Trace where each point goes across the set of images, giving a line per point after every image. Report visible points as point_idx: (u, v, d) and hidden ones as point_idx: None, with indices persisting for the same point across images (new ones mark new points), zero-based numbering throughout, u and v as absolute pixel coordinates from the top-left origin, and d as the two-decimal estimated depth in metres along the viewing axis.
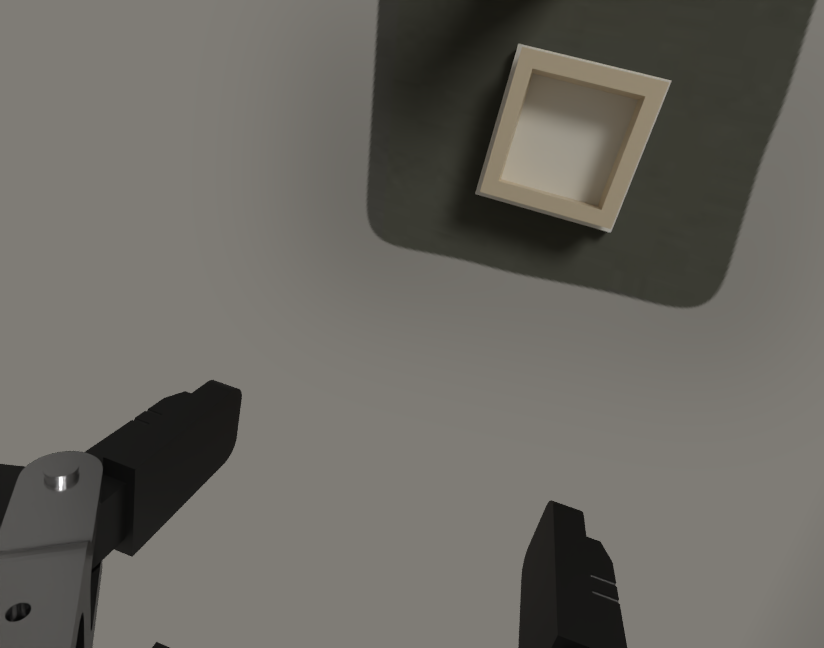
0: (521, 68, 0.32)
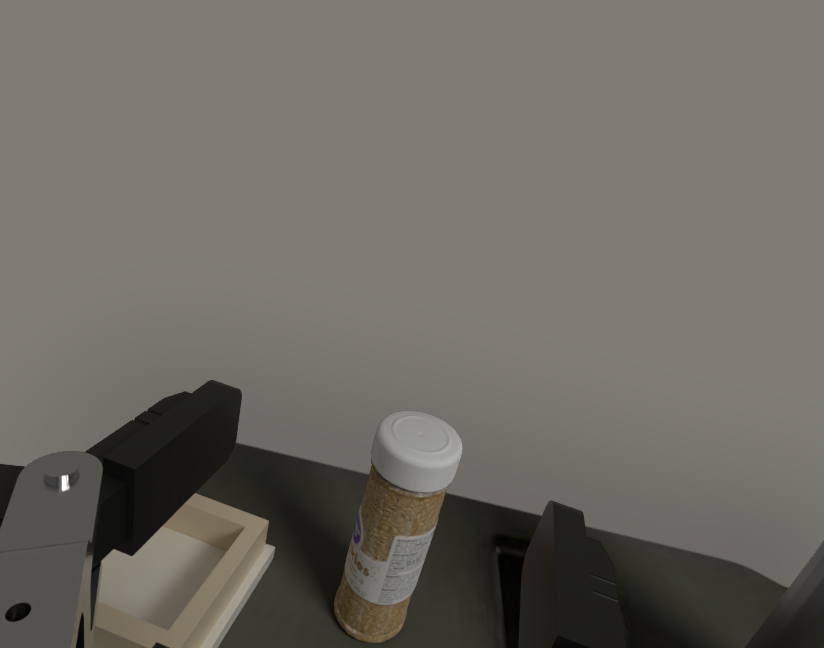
0: (248, 518, 0.31)
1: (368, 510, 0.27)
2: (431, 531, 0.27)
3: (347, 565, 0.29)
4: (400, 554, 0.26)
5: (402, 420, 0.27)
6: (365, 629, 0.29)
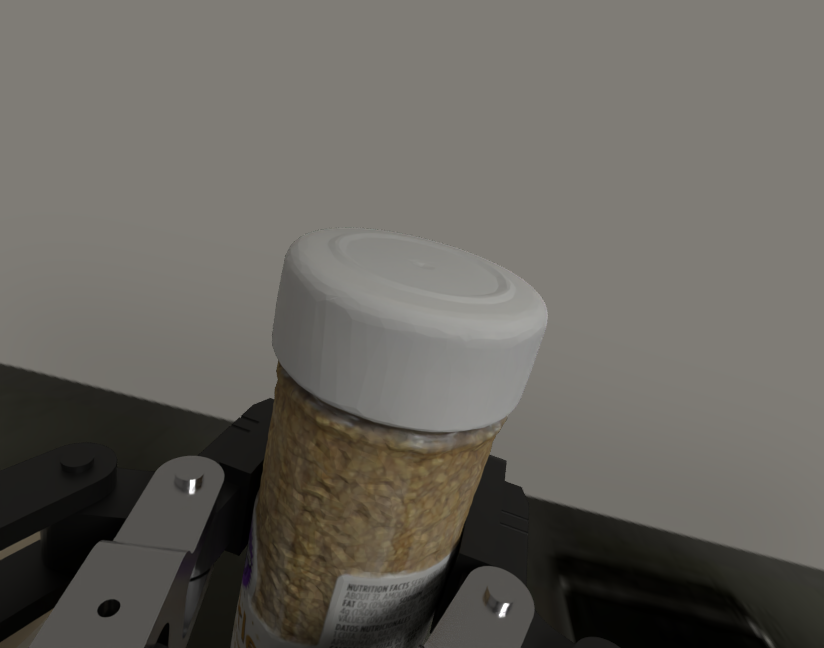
0: None
1: (267, 496, 0.09)
2: (449, 558, 0.10)
3: (232, 639, 0.11)
4: (359, 625, 0.09)
5: (369, 237, 0.09)
6: None
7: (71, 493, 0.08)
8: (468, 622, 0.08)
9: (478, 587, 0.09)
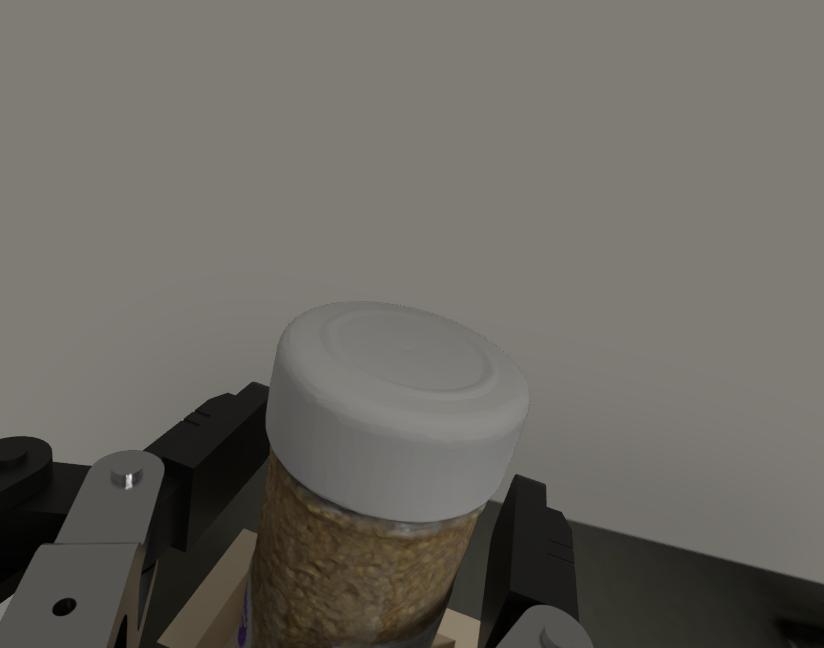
0: (454, 620, 0.17)
1: (262, 566, 0.09)
2: (436, 622, 0.10)
3: None
4: None
5: (359, 316, 0.10)
6: None
7: None
8: None
9: (534, 630, 0.08)
